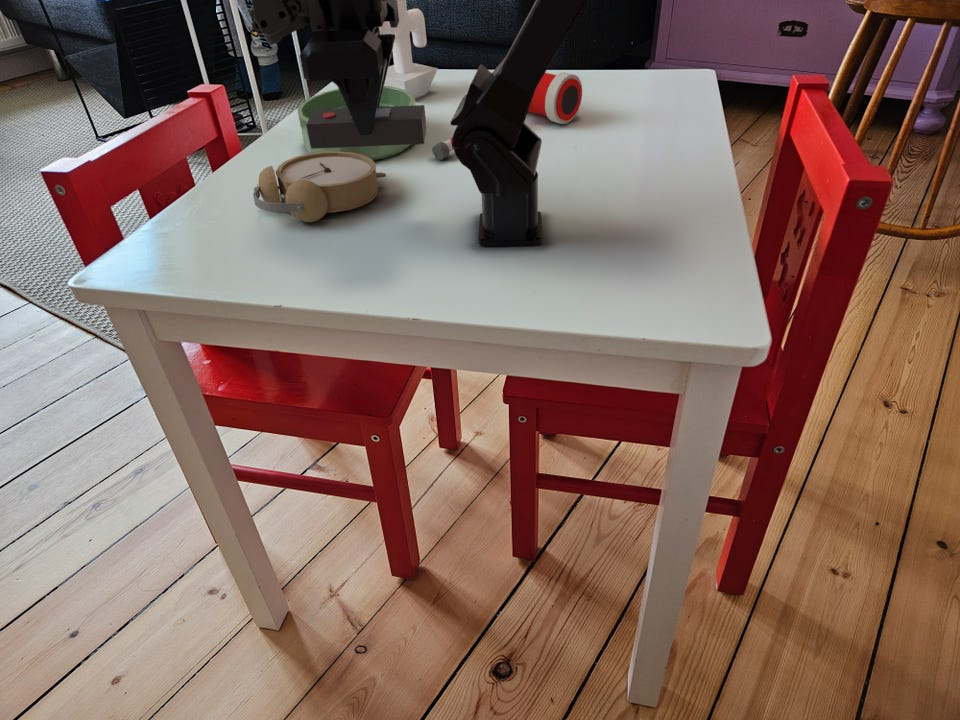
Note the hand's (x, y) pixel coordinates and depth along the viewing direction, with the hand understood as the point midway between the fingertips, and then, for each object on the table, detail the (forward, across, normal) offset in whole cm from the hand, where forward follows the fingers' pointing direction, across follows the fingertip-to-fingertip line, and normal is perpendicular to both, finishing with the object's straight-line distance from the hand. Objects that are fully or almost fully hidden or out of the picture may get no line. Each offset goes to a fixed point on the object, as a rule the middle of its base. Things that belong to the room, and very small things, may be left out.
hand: (368, 126), depth 68 cm
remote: (+1, 0, 0) cm, 1 cm away
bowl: (+11, -25, -6) cm, 28 cm away
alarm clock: (+11, -7, -8) cm, 16 cm away
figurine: (+11, -42, -1) cm, 44 cm away
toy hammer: (+11, -27, +14) cm, 33 cm away
